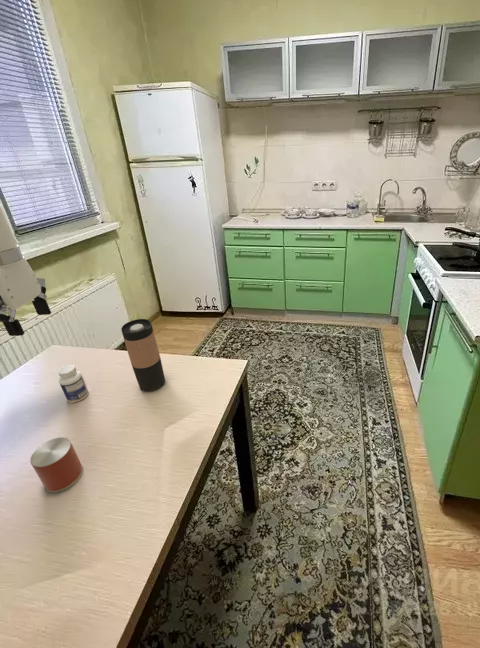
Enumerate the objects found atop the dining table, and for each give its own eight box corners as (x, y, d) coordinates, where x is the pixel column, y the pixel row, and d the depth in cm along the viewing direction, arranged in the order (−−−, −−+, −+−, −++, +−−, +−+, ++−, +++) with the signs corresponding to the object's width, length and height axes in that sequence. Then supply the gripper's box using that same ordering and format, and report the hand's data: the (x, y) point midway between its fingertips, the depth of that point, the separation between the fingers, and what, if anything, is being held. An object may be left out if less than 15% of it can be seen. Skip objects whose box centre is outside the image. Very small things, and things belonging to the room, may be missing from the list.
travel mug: (134, 383, 96) (116, 325, 87) (160, 371, 100) (145, 315, 91) (144, 396, 91) (126, 336, 82) (170, 384, 95) (155, 325, 86)
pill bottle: (68, 393, 93) (56, 366, 88) (89, 387, 95) (78, 360, 90) (66, 405, 88) (53, 377, 84) (88, 399, 91) (77, 371, 86)
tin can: (39, 497, 65) (23, 471, 62) (51, 467, 72) (37, 441, 68) (78, 487, 67) (65, 461, 64) (86, 458, 73) (75, 433, 70)
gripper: (12, 246, 78) (40, 308, 86) (-53, 272, 63) (-13, 345, 71) (43, 244, 78) (68, 306, 86) (-15, 271, 63) (21, 343, 71)
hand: (31, 324), depth 79 cm, fingers open, 9 cm apart
